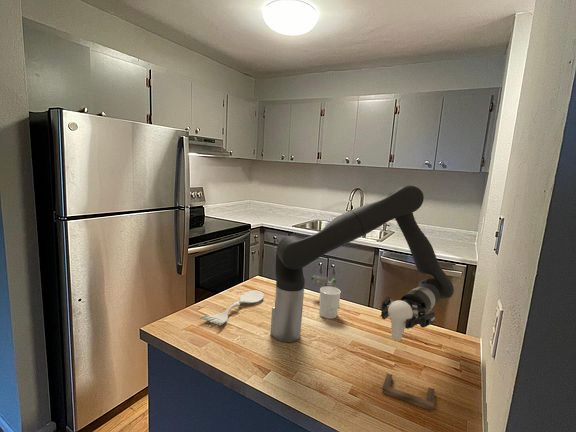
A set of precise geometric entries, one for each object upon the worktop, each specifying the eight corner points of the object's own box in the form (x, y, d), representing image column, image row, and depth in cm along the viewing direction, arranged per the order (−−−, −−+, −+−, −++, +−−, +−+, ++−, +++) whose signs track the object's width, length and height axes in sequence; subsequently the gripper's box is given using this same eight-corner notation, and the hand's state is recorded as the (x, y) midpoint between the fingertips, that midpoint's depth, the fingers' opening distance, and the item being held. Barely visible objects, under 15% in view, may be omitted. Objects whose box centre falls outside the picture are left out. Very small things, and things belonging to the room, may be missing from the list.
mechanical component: (333, 302, 131) (335, 280, 130) (309, 298, 133) (311, 276, 132) (333, 299, 134) (336, 277, 133) (310, 296, 136) (312, 274, 135)
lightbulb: (407, 337, 84) (413, 299, 82) (408, 349, 79) (414, 309, 77) (384, 331, 86) (390, 294, 84) (383, 343, 81) (389, 303, 79)
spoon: (198, 325, 107) (198, 315, 106) (249, 293, 135) (250, 286, 135) (219, 332, 103) (219, 322, 102) (267, 298, 131) (268, 291, 131)
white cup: (341, 314, 121) (343, 290, 120) (333, 321, 115) (335, 296, 113) (323, 308, 125) (325, 284, 124) (314, 315, 119) (316, 290, 117)
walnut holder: (382, 392, 80) (382, 388, 79) (386, 376, 86) (386, 372, 86) (433, 411, 74) (433, 406, 74) (433, 393, 81) (434, 389, 81)
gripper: (396, 282, 96) (370, 297, 84) (446, 298, 87) (425, 317, 74) (393, 305, 97) (367, 322, 85) (442, 323, 88) (421, 345, 76)
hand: (395, 320), depth 80 cm, fingers closed on lightbulb, 5 cm apart
